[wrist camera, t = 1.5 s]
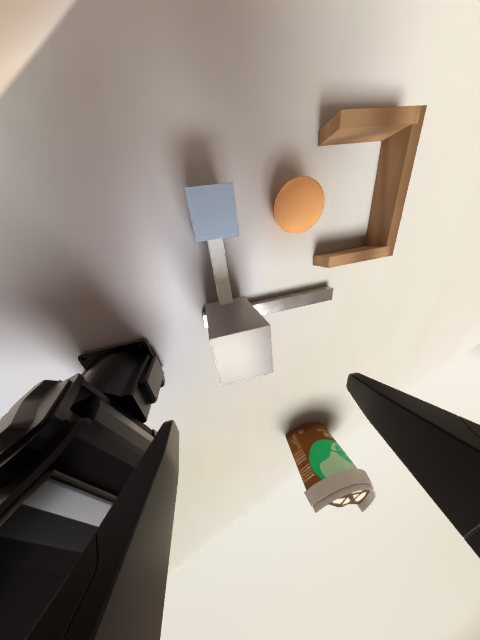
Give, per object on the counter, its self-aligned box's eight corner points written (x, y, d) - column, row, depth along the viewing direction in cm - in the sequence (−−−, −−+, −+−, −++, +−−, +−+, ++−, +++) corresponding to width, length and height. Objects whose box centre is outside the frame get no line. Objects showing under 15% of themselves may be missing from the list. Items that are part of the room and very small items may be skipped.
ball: (268, 237, 17) (287, 235, 13) (265, 187, 15) (286, 170, 12) (305, 231, 18) (333, 228, 14) (306, 182, 16) (338, 165, 12)
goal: (313, 265, 19) (328, 267, 17) (319, 129, 14) (341, 109, 12) (370, 253, 20) (392, 255, 18) (394, 125, 16) (427, 105, 13)
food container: (342, 425, 34) (393, 489, 25) (322, 445, 36) (364, 512, 27) (300, 411, 29) (345, 484, 21) (279, 435, 31) (313, 513, 22)
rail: (205, 323, 19) (205, 327, 18) (202, 312, 19) (202, 315, 18) (326, 297, 21) (331, 299, 20) (327, 286, 21) (333, 288, 20)
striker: (212, 334, 20) (221, 386, 12) (181, 203, 14) (164, 163, 7) (246, 326, 20) (273, 372, 13) (228, 197, 15) (258, 155, 8)
